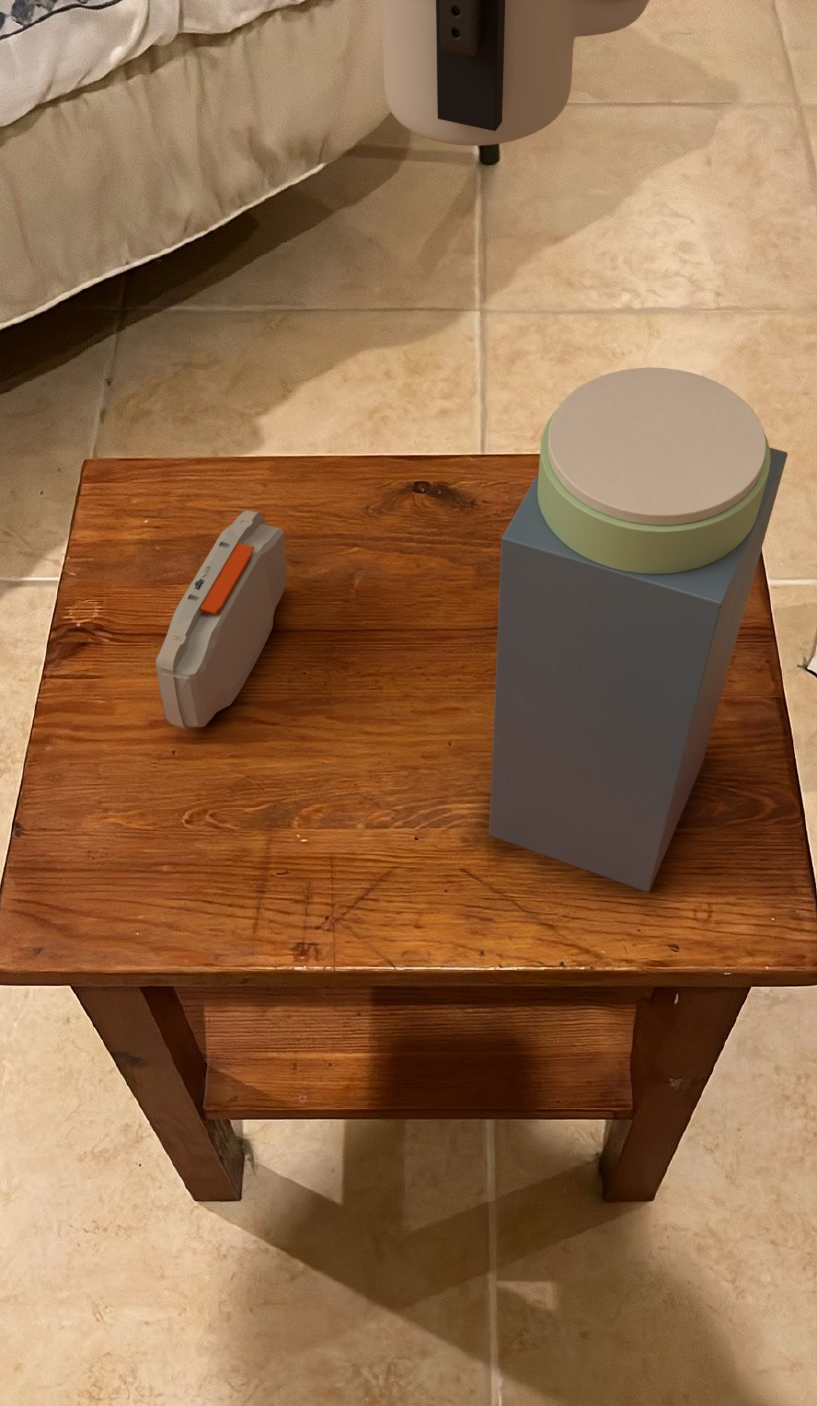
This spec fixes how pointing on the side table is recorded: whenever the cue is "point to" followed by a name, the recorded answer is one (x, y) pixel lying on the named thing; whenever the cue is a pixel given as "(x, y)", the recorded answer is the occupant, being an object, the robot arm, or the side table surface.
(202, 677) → the grey case
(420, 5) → the mug
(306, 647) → the side table surface
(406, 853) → the side table surface
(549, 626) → the stand
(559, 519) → the round tin
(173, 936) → the side table surface
